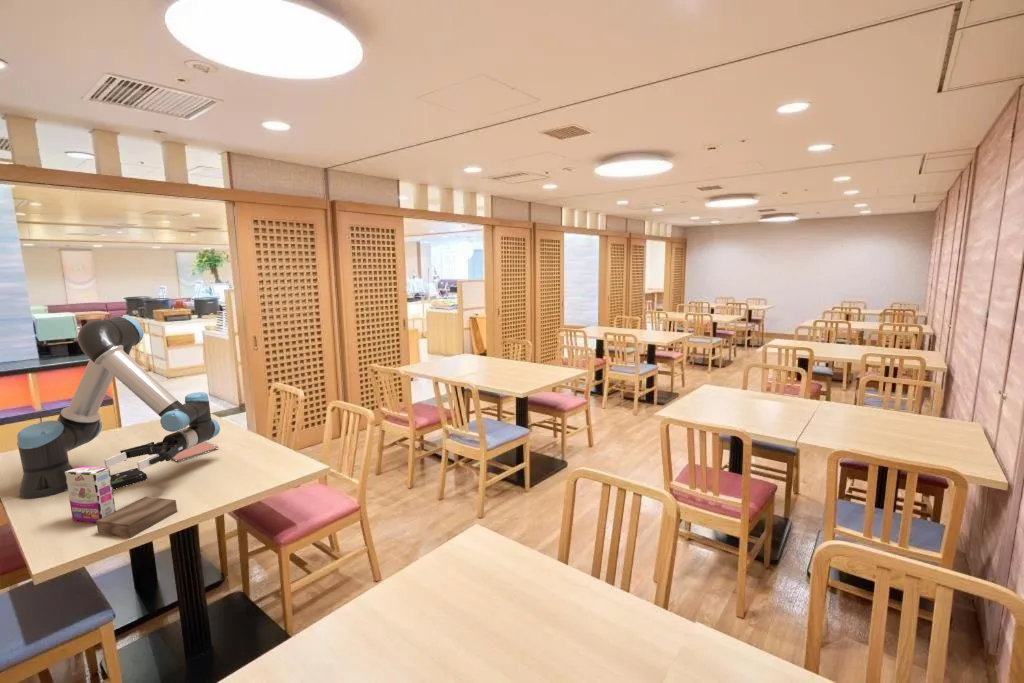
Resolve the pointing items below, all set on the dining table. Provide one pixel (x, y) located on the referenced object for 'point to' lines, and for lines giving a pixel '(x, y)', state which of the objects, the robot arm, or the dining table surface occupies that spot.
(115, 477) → the disk drive
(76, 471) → the candy bar box
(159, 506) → the wooden block
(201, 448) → the notebook
